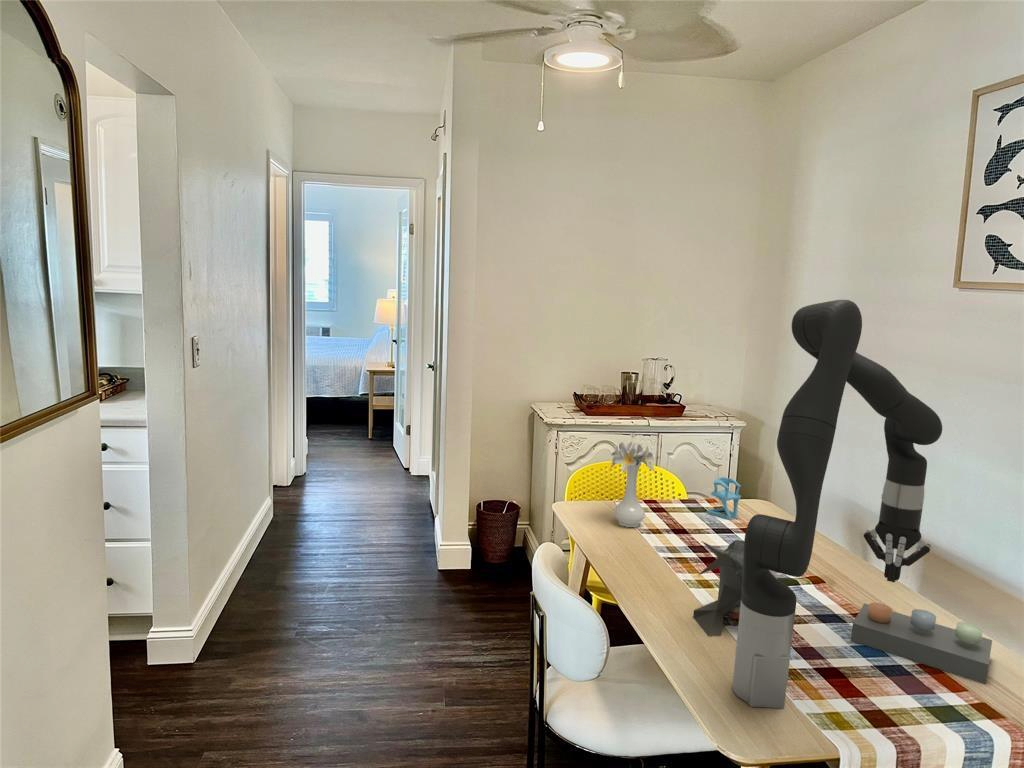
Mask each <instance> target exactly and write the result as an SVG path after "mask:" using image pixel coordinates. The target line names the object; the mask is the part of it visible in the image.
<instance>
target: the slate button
mask: <svg viewBox="0 0 1024 768" xmlns="http://www.w3.org/2000/svg"><path fill="white" fill-rule="evenodd" d="M910 617H911V621H910V623H911V624H912V625H913V626H914V627H916V628H919V629H922V630H928V631H931V630H934V629H935V624H937V616H936V615H935V614H934V613H932V612H930V611H928V610H925V609H918V608H916V609H912V611H911V615H910Z"/></svg>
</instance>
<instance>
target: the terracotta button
mask: <svg viewBox="0 0 1024 768" xmlns="http://www.w3.org/2000/svg"><path fill="white" fill-rule="evenodd" d="M892 611H893V609H892V608H891V607H890V606H889V605H886V604H884V603H880V602H871V603H869V609H868V617H869V618H870V619H872V620H874V621H876V622H880V623H889V622H890V621H891V615H892Z"/></svg>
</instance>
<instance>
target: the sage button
mask: <svg viewBox="0 0 1024 768" xmlns="http://www.w3.org/2000/svg"><path fill="white" fill-rule="evenodd" d="M955 629H956V632H955V636H956V638H958V639H959V640H961V641H963V642H966V643H970V644H980V643H981V638H982V637H983V631H984V630H983V629H982V627H980V626H978V625H977V624H974V623H971V622H966V621H959V622H956V626H955Z"/></svg>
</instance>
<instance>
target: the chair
mask: <svg viewBox="0 0 1024 768" xmlns="http://www.w3.org/2000/svg"><path fill="white" fill-rule="evenodd" d="M729 484H733V485H735V486H736V487H737V488H736V489H735V493H734V492H731V491H729V489H730V487H729ZM713 486H714V490H713V491H711V495H712V496H714V497H716V498H717V499H718V500H719V502H721V504H722V506H723V507H718V508H712V509H708V510H707V509H706V514H707V515H708V514H709V515H712V516H716V517H719V518H723V519H725V520H729V521H732V519H735V520H737V519H738V510H739V509H738V507H739V500H740V499H742V495H740V494H739V493H740V492H739V491H740V489H741V484H739V483H738V481H736V480H735V479H732V478H729V477H724V476H721V477H718V478H716V479H715V480H714V481H713ZM718 486H721V487H723V488H724V490H719V491H718ZM731 500H733V512H732V511H730V510H729V507H728V505H727V502H728V501H731ZM722 511H723V512H725V514H724V513H720V512H722Z"/></svg>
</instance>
